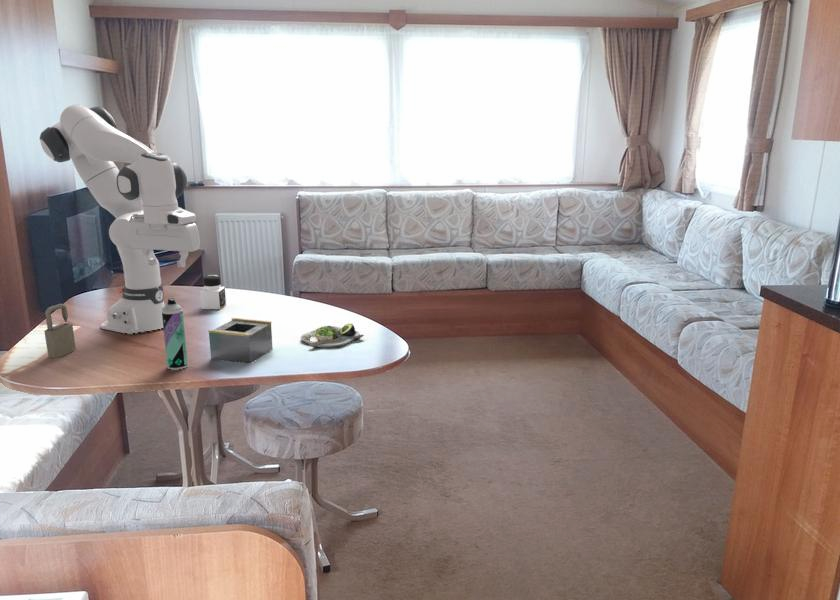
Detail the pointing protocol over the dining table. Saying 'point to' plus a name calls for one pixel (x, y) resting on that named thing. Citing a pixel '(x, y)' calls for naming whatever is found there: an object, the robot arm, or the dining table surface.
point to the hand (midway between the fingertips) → (166, 265)
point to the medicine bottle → (212, 293)
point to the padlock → (59, 334)
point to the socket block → (241, 340)
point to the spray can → (174, 335)
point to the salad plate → (332, 336)
